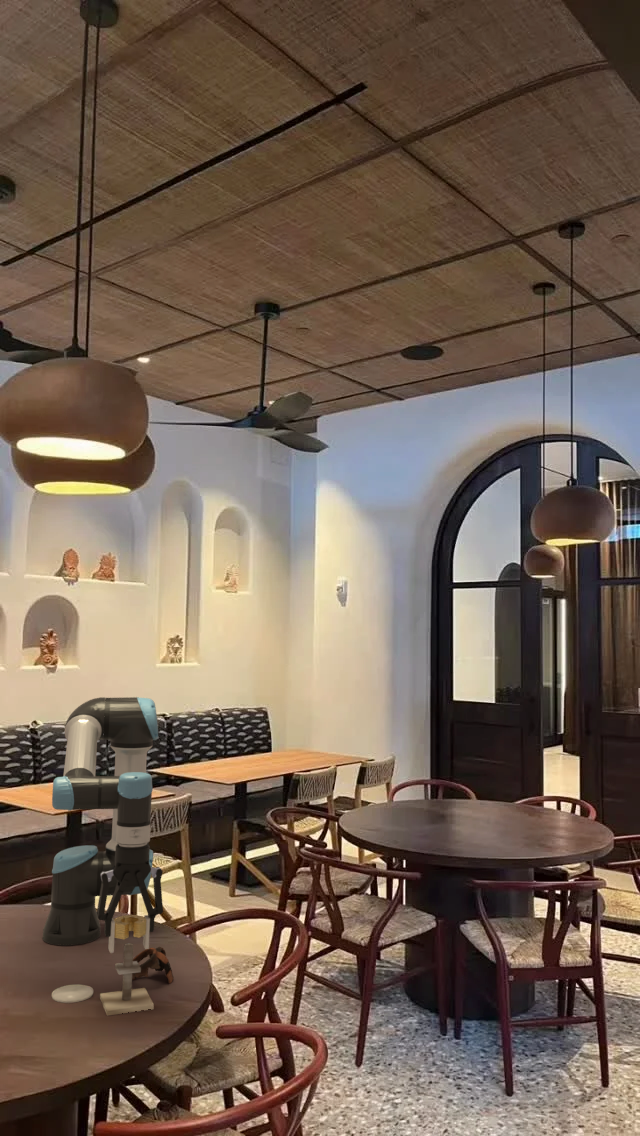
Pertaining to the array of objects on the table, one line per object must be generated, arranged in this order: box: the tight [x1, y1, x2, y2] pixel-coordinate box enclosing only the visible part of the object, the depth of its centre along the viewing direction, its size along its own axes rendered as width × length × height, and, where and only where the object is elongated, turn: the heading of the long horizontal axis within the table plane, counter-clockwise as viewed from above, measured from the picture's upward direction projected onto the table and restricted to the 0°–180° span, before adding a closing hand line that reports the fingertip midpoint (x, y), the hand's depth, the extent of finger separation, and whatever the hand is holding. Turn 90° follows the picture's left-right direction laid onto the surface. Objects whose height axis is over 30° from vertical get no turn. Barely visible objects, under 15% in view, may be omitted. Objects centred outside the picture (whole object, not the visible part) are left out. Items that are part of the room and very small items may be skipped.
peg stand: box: [99, 942, 155, 1016], centre depth 190 cm, size 10×10×12 cm
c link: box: [113, 914, 146, 940], centre depth 191 cm, size 7×7×3 cm
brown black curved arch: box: [132, 946, 174, 984], centre depth 204 cm, size 12×10×8 cm
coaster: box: [51, 984, 94, 1004], centre depth 193 cm, size 9×9×1 cm
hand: (128, 948), depth 191 cm, fingers closed on c link, 7 cm apart
